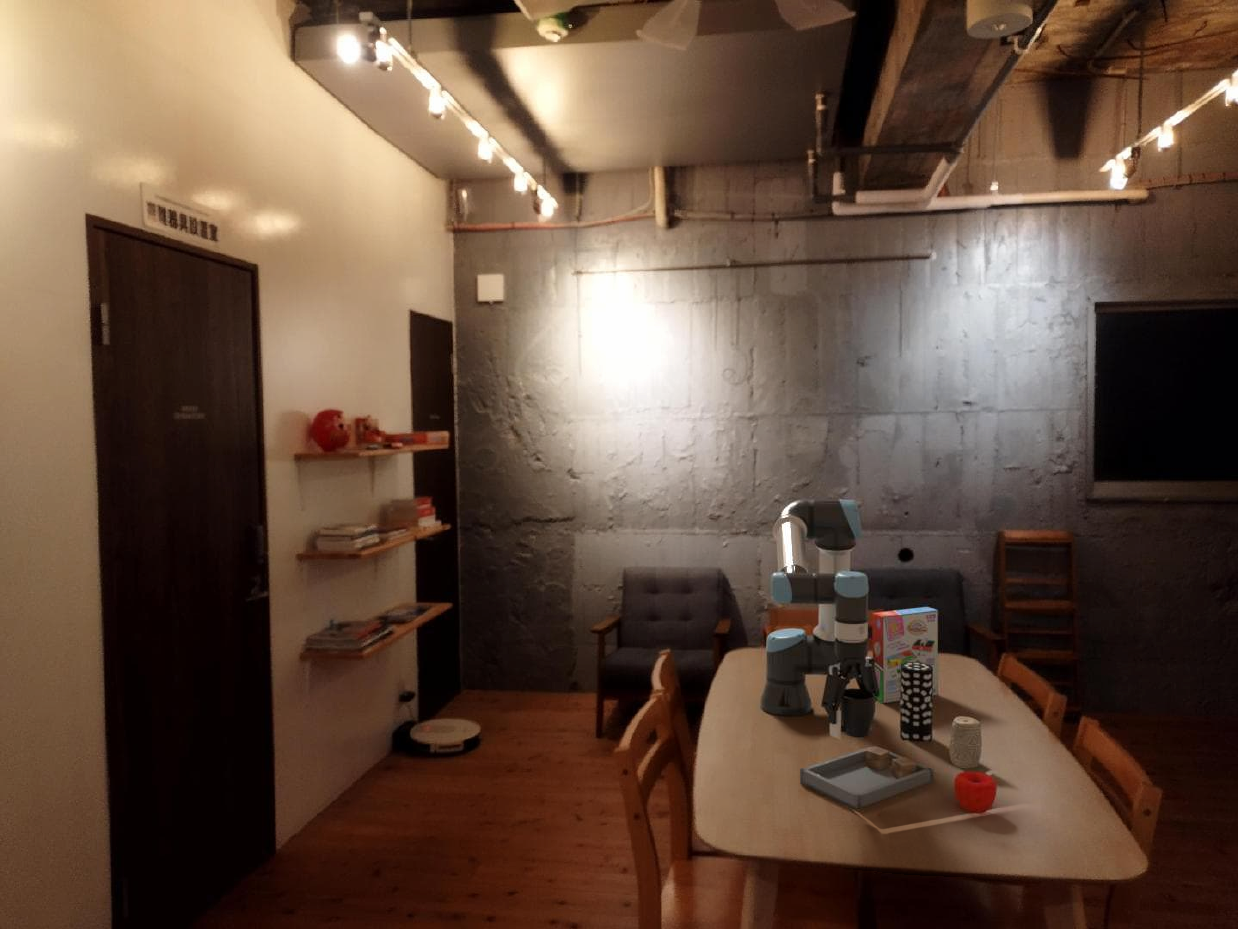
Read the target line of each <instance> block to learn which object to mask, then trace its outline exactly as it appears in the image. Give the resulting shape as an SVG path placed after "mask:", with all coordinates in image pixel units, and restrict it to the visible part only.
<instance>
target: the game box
mask: <svg viewBox="0 0 1238 929" xmlns="http://www.w3.org/2000/svg"><path fill="white" fill-rule="evenodd" d="M938 629H939V610H938V609H936V608H932V607H929V606H923V607H915V608H906V609H895V610H887V611H878V612H873V613H872V658H874V659H875V672H876V678H877V683H878V688H879V693H880V695H879V697H875V698H877V701H876V702H879V703H881V704H888V703H894V702H900V665H901V664H902V663H905V662H921V663H926V664H929V665H931V666H932V667H933V697H934V696H939V674H938V673H939V660H938V659H939V658H938V656H939V654H938V653H939V651H938V650H939V648H938V647H939V645H938V644H939V643H938V642H939V641H938V640H939V639H938V638H939V635H938V634H939V630H938ZM873 690H874V689H873Z"/></svg>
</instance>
